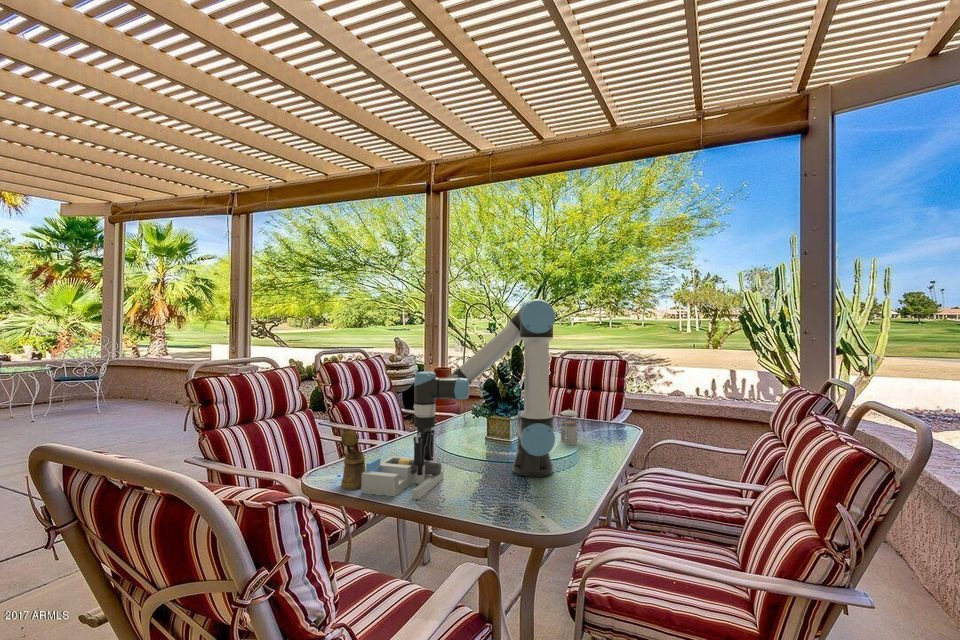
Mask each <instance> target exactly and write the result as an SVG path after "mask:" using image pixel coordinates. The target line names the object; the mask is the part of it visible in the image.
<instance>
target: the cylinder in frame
mask: <svg viewBox="0 0 960 640" xmlns="http://www.w3.org/2000/svg"><path fill="white" fill-rule="evenodd" d="M393 458H396V459H401V458H402V459H411V460H414V457H407V456H396V455H392V456H390V457H388V458H387V459H385V460H383V461H381V457H375V458H374V459H372V460H369V461H368V462H366V463H365V469H366V471H365V472H363V473H362V486H361V488H360V491H361V494H363V493H369V494H368V495H372V494H376V495H375V496H380V495H386V496H385V497H389V496H393V497H392V498H395V497H396V495H397V494H398V495H400V494H401V493H402V492H403V491H404V490H406V489H407V488H408V487H410V486H411V485H412V484H413V482H414V483H415V482H417V473H416V472H411V465H400V464H390V463H391V460H392V459H393ZM443 480H444V470H443V469H441V473H440V475H432V474H431V476H430V477H428V478H427V479H425V481H423V482H422V483H421V484H417V486H416V487H415V488H414V489H412V500H415V499H418V500H417V501H420V499H421V498H423V497H424V496H425V495H426V494H427V493H429V492H430V491H431V490H432V489H433V488H434V487H435V486H437V483H438V484H439V483H440V482H441V481H443ZM409 485H410V486H409ZM405 488H406V489H405ZM430 489H431V490H430ZM429 490H430V491H429ZM401 491H402V492H401ZM400 492H401V493H400ZM398 495H397V496H398ZM423 495H424V496H423ZM422 496H423V497H422Z"/></svg>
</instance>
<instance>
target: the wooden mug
mask: <svg viewBox="0 0 960 640" xmlns="http://www.w3.org/2000/svg"><path fill="white" fill-rule="evenodd" d="M340 440H341V443H342V445H344V446H345V447H346V449H347V451H346V452H345V456H344V459H343V463H344V465H343V466H344V467H343V474H342V475H343V476H342V479H341V482H340V484H341V485H340V486H341V487H342V488H343V489H345V488H346V490H358V488H360V489H361V486H362V473H363V472H365V471H366V463H365V460H366V458H365V457H366V456H365V455H364V451H356V447H355V446H356V445H357V444H358V443H359V435H358V433H357V432H356V431H355V430H353V429H351V428H347V429H345V430H343V432H342V434H341V439H340Z"/></svg>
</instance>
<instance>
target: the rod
mask: <svg viewBox="0 0 960 640" xmlns="http://www.w3.org/2000/svg"><path fill="white" fill-rule="evenodd" d="M390 464H400V465H411V472H416V473H417V465H414V460H411V459H402V458H401V459H396V458H393V459H392V460H391V463H390ZM424 465H425V474H431V475H440V473H441V470H442V464H441V462H440V463H439V462H432V461H431V462H424Z"/></svg>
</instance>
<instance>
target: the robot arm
mask: <svg viewBox="0 0 960 640" xmlns="http://www.w3.org/2000/svg"><path fill="white" fill-rule="evenodd" d="M555 320H556V313H555V310H554V308H553V306H552V305H551V304H550V303H549V302H548V301H546V300H544V299H542V298H541V299H538V298H535V299H530V300H528V301H526V303H524V304H522V306H521V307H520V309H519V310H518V311H517V313H516V314H515V315H514V316H513V317H512V318H510V319H509V320H508V325H506V326H505V327H504V328H503V329H502V330H501V331H500V332H498V333H497V334H496V335H495V336H494V337H493V338H491V339H490V340H489V341H488V342H487V343H485V344H484V346H482V347H481V348H480V349H479V350H478V351H477V352H475V353H474V354H473V355H472V356H470V358H469V359H467V360H466V361H465V362H464V363H463V364H462V365H461V366H459V368H457V369H456V370H455V371H454V372H453V373H450V375H449V376H447V377H437V375H436V372H434V371H425V370H424V371H417V372H415V375H414V384H413V393H414V394H413V395H414V397H413V398H414V399H413V400H414V401H413V402H414V403H413V407H412V408H413V409H414V410H413V414H414V416H413V426H414V427H415V428H416V429H417V432H416V433H417V434H416V436H413V444H414V445H413V446H414V447H413V458H414V465H417V480H416V484H417V485H420V484H421V483H422V482H423V481H425V480H426V479H427V478H428V477H430V476H431V475H432V474H425V465H424V462H432V461H434V452H435V451H434V445H435V443H434V442H435V441H434V438H435V437H434V436H435V429H432V428H434V427H435V426H436V416H435V415H436V399H437V400H440V399H441V400H458V401H459V400H467V399H468V398H469V397H470V385H471V384H472V383H473V382H474V381H476V379H478V378H479V377H480V376H481V375H483V374H484V373H485V372H486V371H487V370H489V368H491V367H492V366H493V365H494V364H495V363H497V362H498V361H499V360H500V359H501V358H502V357H504V356H505V355H506V354H507V353H508V352H509V351H510V350H512V349H513V348H514V347H515V346H516V345H517V344H518V343H520V342H521V341H523V343H524V359H523V361H524V362H523V363H524V365H523V366H524V367H523V368H524V373H523V375H524V377H523V378H524V380H523V381H524V383H523V384H524V385H523V386H524V387H523V388H524V394H523V395H524V397H523V398H524V400H523V401H524V402H523V403H524V407H523V408H524V409H523V410H519V411H518V412H517V418H516V420H517V450H516V453H515V458H514V461H513V463H512V471H513V473H515V474H516V475H518V476H522V477H529V478H542V477H547V476H550V475H552V474H553V472H554V468H553V467H554V466H553V462H552V459H551V456H550V452H551V451H552V450H553V448H554V447H555V443H556V435H555V432H554V415H553V413H552V412H550V392H549V391H550V385H549V384H550V380H549V379H550V378H549V377H550V374H549V373H550V368H549V367H550V366H549V365H550V364H549V363H550V361H549V360H550V357H549V355H550V342H551V341H552V340H553V339H554V324H555Z"/></svg>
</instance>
